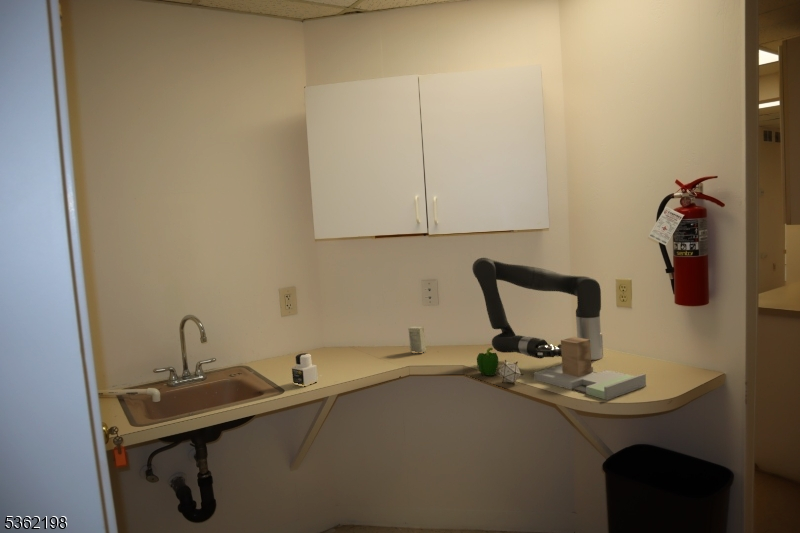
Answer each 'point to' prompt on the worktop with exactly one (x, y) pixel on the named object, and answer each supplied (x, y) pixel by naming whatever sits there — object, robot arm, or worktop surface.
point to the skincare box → (417, 339)
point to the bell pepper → (487, 362)
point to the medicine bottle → (304, 370)
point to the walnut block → (576, 356)
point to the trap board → (593, 382)
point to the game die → (509, 372)
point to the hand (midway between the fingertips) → (568, 354)
